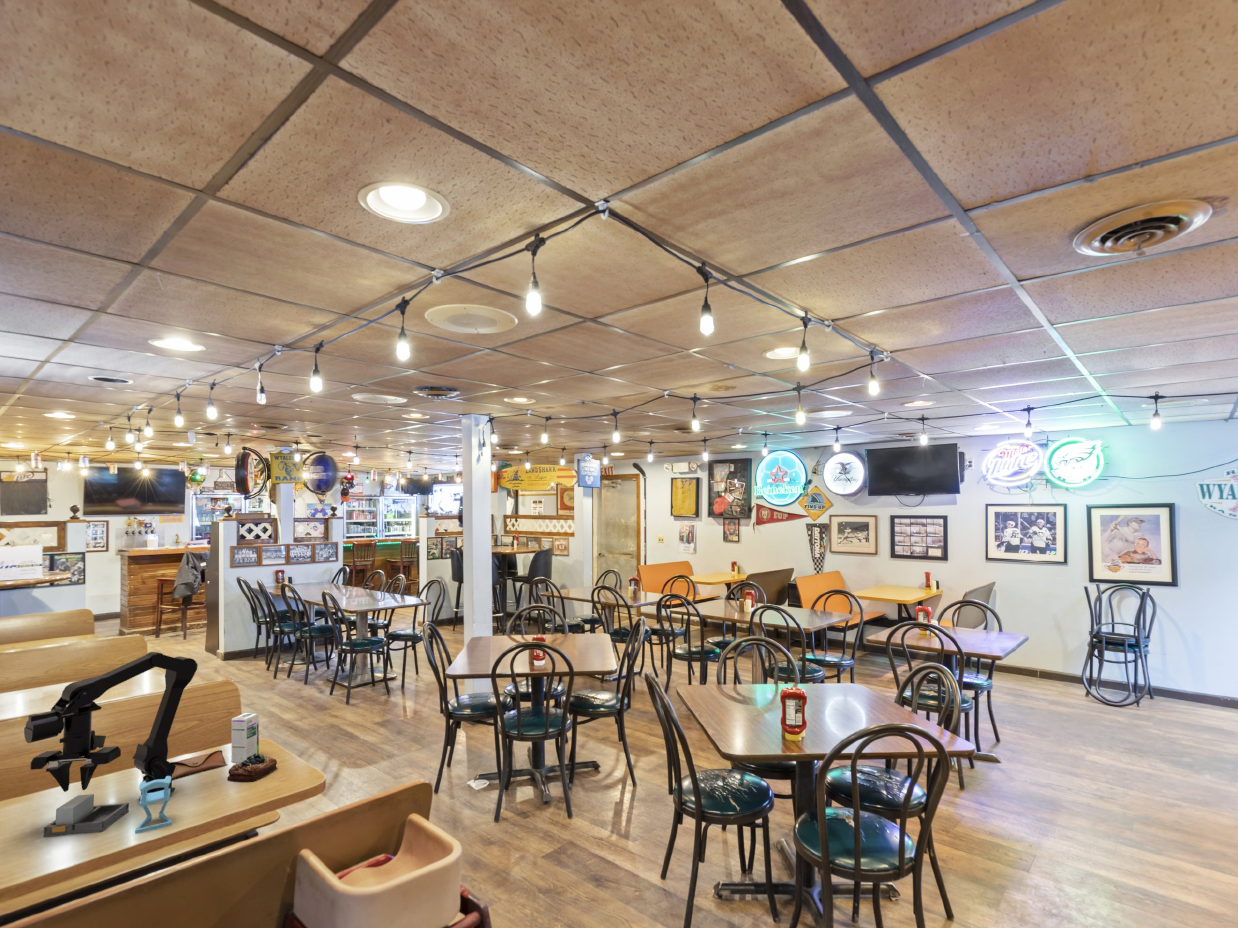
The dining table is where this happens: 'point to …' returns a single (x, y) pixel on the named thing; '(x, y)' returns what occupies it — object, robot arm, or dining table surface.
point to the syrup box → (245, 736)
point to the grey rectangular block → (75, 809)
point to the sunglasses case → (198, 764)
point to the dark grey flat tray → (90, 821)
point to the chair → (153, 798)
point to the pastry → (252, 768)
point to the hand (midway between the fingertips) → (75, 790)
